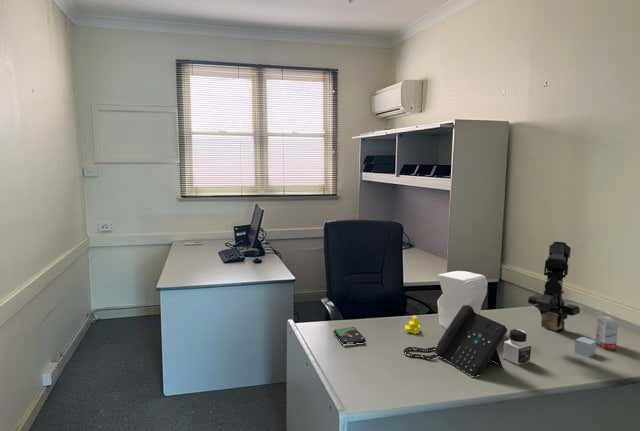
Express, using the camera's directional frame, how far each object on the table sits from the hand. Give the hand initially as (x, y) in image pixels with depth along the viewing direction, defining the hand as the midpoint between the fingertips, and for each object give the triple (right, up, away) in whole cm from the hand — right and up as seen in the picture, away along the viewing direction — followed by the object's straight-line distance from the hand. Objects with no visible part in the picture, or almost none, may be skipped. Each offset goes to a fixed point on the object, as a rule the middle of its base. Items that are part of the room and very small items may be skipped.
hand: (551, 324), depth 178 cm
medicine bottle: (-18, -12, -8) cm, 23 cm away
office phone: (-44, -12, -8) cm, 46 cm away
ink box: (+27, -11, +6) cm, 29 cm away
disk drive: (-83, -10, +13) cm, 84 cm away
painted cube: (+13, -12, -1) cm, 18 cm away
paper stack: (-27, -8, +27) cm, 39 cm away
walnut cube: (0, -1, 0) cm, 1 cm away
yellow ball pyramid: (-53, -9, +21) cm, 58 cm away
